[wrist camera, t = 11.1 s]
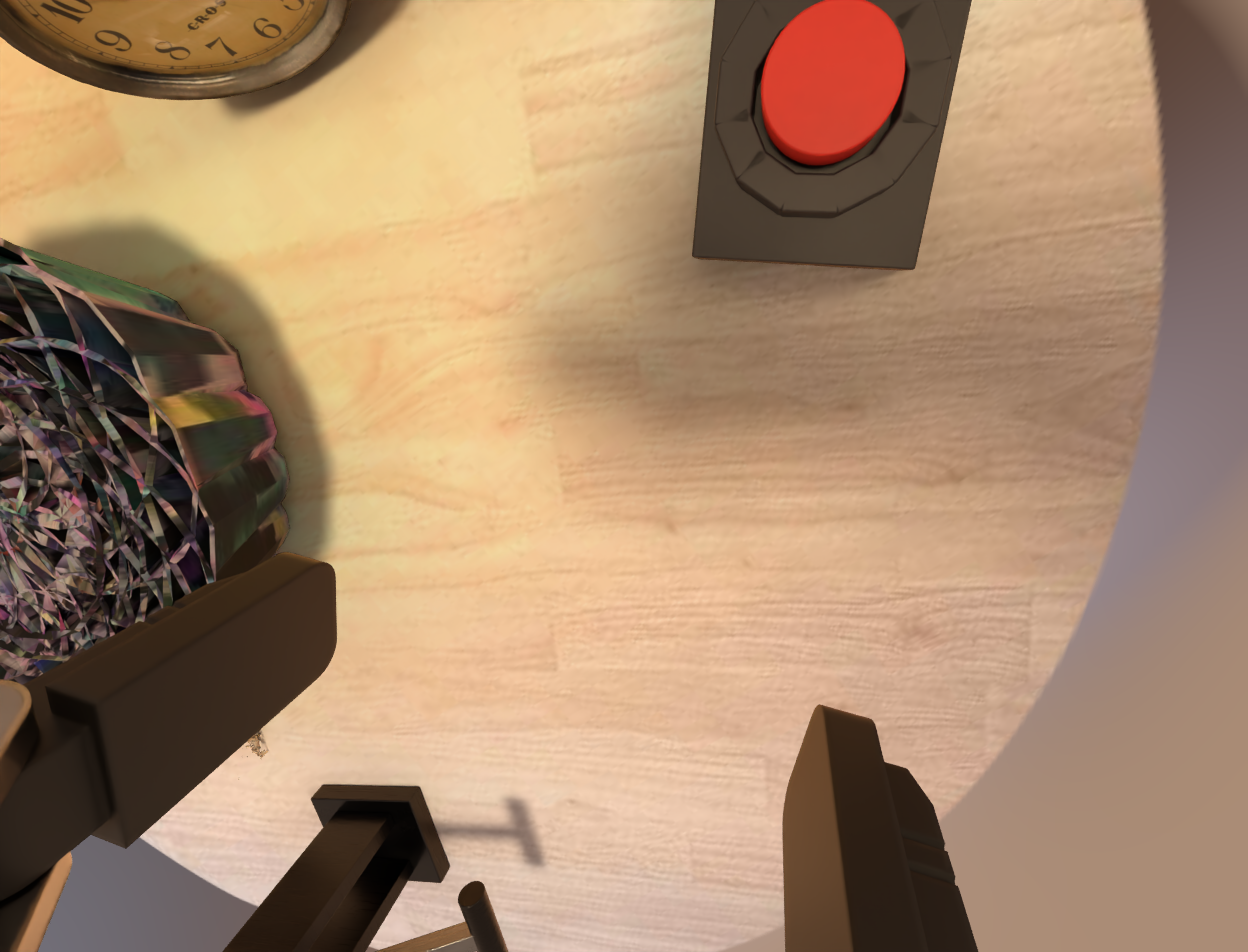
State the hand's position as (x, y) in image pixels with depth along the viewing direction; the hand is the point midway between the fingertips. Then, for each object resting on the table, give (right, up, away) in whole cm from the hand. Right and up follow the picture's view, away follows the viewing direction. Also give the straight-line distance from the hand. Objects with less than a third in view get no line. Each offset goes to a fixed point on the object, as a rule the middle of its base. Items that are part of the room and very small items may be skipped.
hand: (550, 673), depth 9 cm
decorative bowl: (-28, +4, +26) cm, 38 cm away
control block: (+8, +16, +13) cm, 22 cm away
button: (+8, +15, +9) cm, 19 cm away
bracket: (-15, -21, +31) cm, 41 cm away
